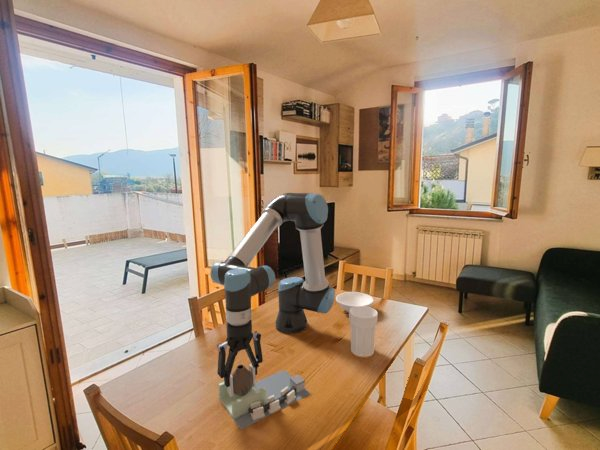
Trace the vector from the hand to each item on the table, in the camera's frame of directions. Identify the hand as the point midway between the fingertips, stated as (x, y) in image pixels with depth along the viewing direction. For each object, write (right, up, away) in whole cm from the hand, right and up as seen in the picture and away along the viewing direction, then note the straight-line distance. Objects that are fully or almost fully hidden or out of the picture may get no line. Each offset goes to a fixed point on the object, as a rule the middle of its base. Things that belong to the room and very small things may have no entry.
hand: (241, 389), depth 100 cm
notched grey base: (+11, -4, 0) cm, 11 cm away
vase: (0, -1, 0) cm, 1 cm away
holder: (0, -4, +1) cm, 4 cm away
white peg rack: (+11, -4, +1) cm, 12 cm away
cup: (+43, 0, +29) cm, 52 cm away
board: (+7, -5, +3) cm, 9 cm away
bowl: (+47, +6, +68) cm, 83 cm away
